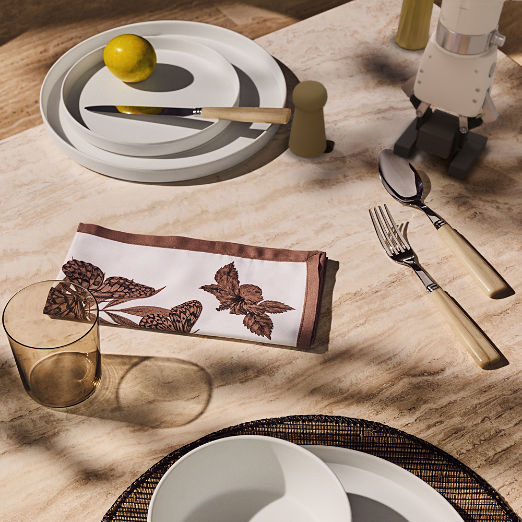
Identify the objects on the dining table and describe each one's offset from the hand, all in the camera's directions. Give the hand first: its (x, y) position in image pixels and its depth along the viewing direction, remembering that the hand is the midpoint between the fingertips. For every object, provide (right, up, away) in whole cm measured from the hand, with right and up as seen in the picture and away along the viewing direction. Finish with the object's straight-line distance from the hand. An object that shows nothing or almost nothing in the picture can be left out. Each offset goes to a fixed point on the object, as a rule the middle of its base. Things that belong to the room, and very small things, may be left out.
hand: (439, 140), depth 104 cm
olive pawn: (-20, 0, +4) cm, 20 cm away
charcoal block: (0, 0, 0) cm, 0 cm away
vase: (+1, +22, +23) cm, 32 cm away
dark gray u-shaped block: (+1, -1, +3) cm, 3 cm away
